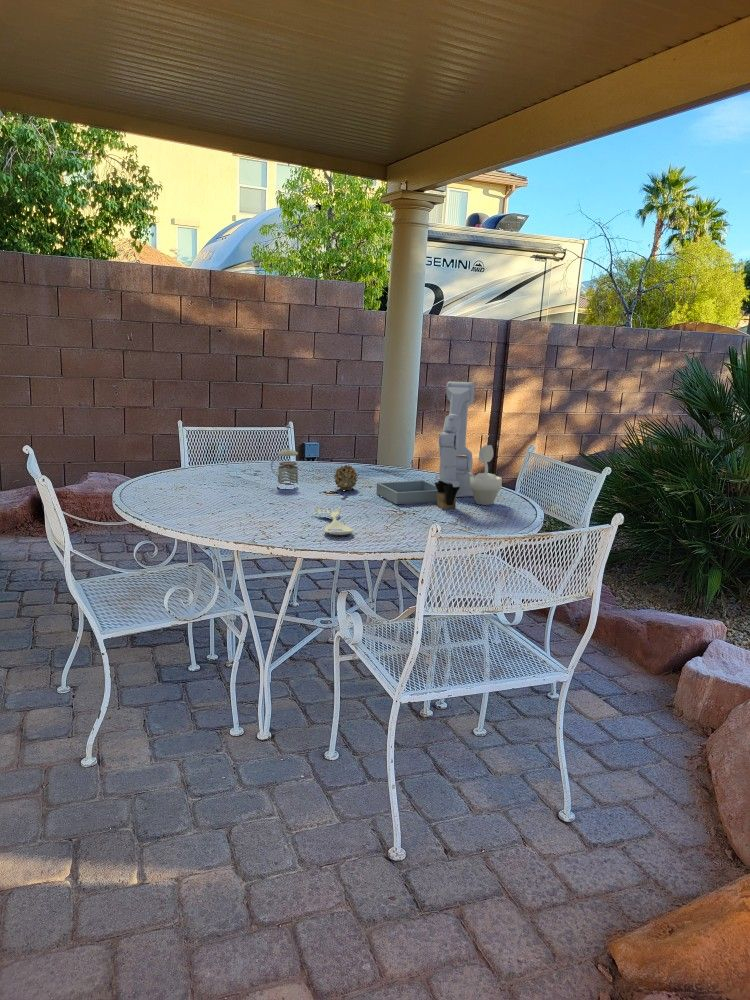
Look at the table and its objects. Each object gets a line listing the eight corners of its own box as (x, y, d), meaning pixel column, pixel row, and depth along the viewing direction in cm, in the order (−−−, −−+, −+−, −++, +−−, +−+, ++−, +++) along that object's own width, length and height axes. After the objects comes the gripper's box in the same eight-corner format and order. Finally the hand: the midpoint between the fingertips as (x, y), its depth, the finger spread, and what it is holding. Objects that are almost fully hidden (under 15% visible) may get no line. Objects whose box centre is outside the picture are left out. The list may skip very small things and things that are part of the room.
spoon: (340, 514, 249) (340, 505, 248) (356, 539, 218) (356, 528, 218) (313, 515, 247) (313, 505, 247) (326, 540, 217) (326, 529, 216)
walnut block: (449, 505, 266) (449, 491, 265) (455, 508, 262) (456, 494, 260) (436, 506, 264) (437, 492, 263) (442, 509, 260) (443, 495, 259)
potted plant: (500, 507, 264) (504, 438, 258) (467, 505, 266) (470, 437, 261) (501, 500, 276) (505, 434, 271) (470, 498, 278) (473, 433, 273)
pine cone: (334, 486, 297) (334, 462, 295) (357, 486, 297) (358, 462, 295) (332, 497, 276) (332, 471, 273) (357, 497, 276) (357, 471, 274)
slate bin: (423, 491, 290) (423, 480, 289) (446, 501, 272) (446, 490, 271) (376, 494, 283) (376, 482, 282) (396, 505, 265) (396, 492, 264)
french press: (302, 489, 290) (302, 426, 285) (273, 490, 287) (272, 426, 282) (298, 484, 299) (298, 423, 294) (269, 485, 296) (269, 423, 291)
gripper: (428, 463, 265) (427, 499, 268) (446, 469, 252) (445, 508, 255) (446, 462, 267) (444, 498, 270) (465, 468, 254) (463, 506, 257)
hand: (446, 503), depth 263 cm, fingers closed on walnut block, 5 cm apart
